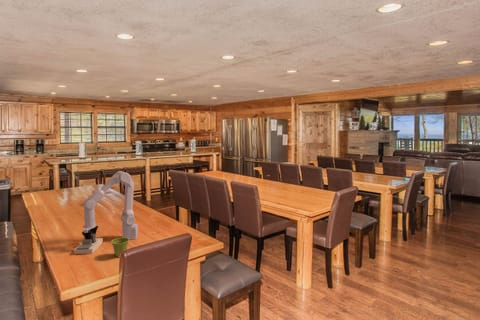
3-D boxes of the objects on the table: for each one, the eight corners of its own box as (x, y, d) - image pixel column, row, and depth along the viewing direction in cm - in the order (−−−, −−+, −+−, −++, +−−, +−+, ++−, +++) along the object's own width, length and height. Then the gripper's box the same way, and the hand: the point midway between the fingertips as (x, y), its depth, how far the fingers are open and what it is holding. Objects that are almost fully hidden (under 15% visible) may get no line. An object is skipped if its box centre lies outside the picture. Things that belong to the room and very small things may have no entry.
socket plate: (102, 241, 197) (102, 238, 197) (92, 253, 179) (92, 249, 179) (86, 242, 196) (86, 238, 196) (74, 253, 178) (73, 249, 178)
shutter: (92, 244, 185) (92, 239, 185) (88, 249, 178) (88, 243, 178) (81, 245, 184) (81, 239, 184) (76, 249, 178) (76, 244, 177)
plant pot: (129, 257, 174) (128, 242, 173) (111, 259, 171) (110, 244, 170) (130, 251, 183) (129, 236, 182) (112, 252, 180) (112, 238, 179)
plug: (95, 244, 193) (95, 231, 192) (93, 246, 189) (93, 233, 188) (89, 244, 192) (88, 232, 191) (86, 247, 189) (86, 233, 188)
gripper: (87, 215, 196) (88, 236, 197) (77, 222, 181) (79, 245, 183) (99, 215, 196) (100, 236, 198) (90, 222, 182) (91, 244, 184)
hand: (90, 240), depth 190 cm, fingers open, 7 cm apart
